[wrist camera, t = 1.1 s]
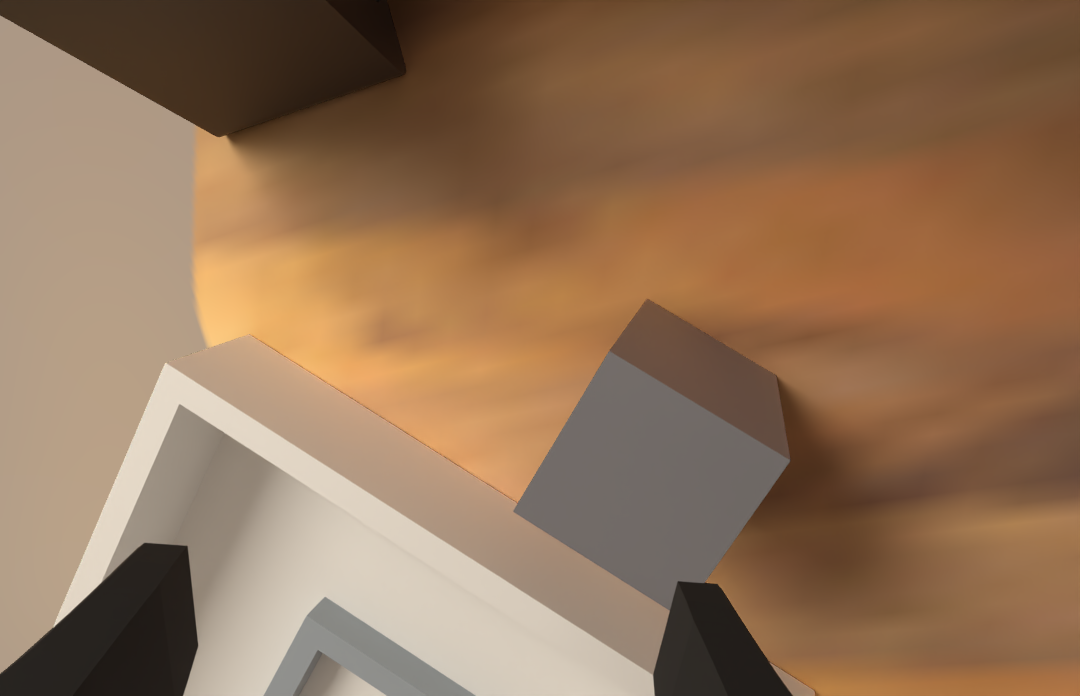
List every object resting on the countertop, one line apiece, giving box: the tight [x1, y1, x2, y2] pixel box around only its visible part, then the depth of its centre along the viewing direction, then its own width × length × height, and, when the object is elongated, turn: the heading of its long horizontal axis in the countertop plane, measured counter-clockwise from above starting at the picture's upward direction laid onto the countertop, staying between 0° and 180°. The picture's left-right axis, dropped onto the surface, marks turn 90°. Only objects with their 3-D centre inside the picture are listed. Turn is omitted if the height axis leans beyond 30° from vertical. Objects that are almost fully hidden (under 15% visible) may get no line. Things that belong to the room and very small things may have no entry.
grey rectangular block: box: [513, 299, 791, 611], centre depth 20 cm, size 4×4×7 cm
